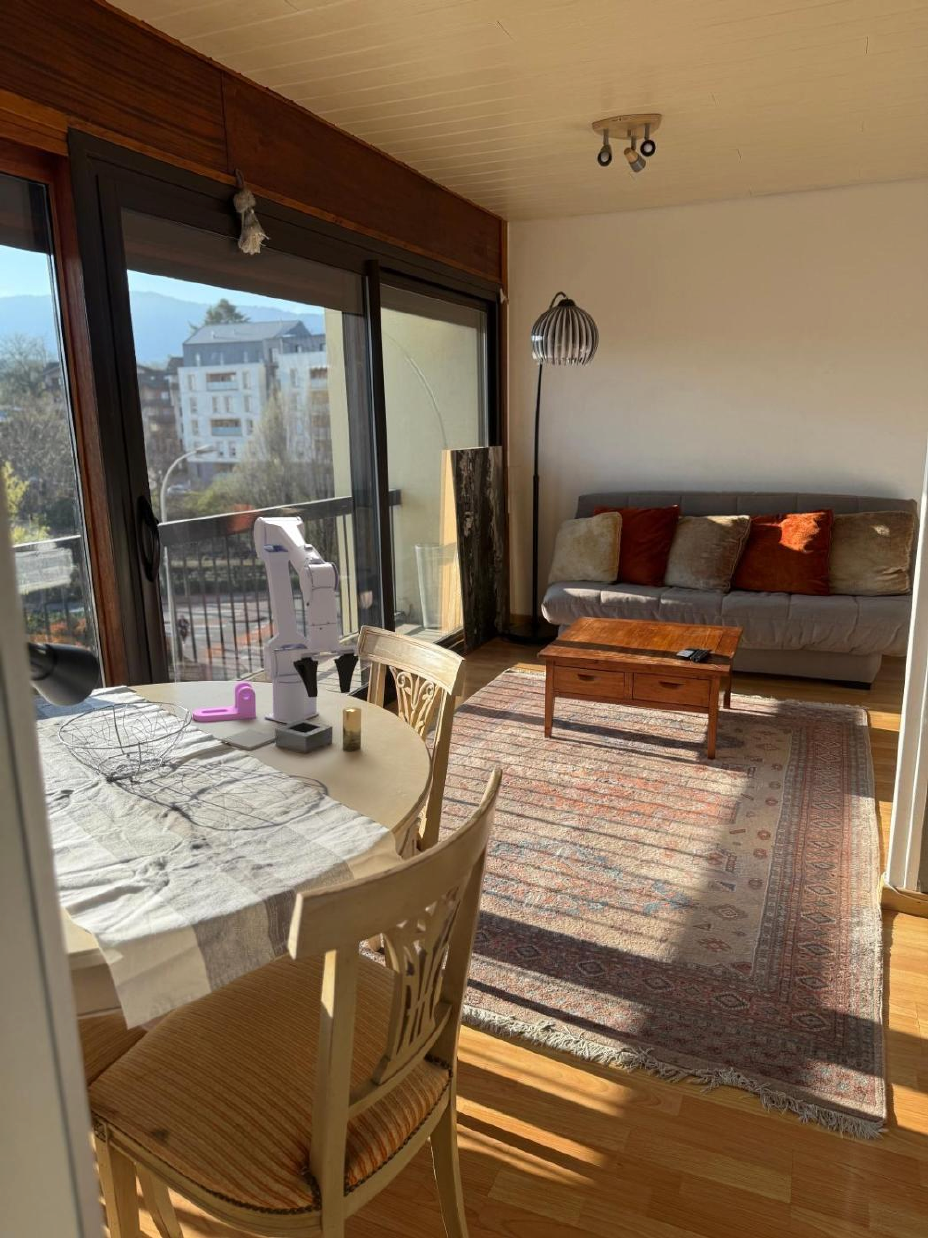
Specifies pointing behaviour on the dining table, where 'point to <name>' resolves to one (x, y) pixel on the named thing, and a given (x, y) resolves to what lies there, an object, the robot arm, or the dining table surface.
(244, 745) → the mat
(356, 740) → the key peg
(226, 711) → the bracket
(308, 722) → the block
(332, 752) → the dining table surface
